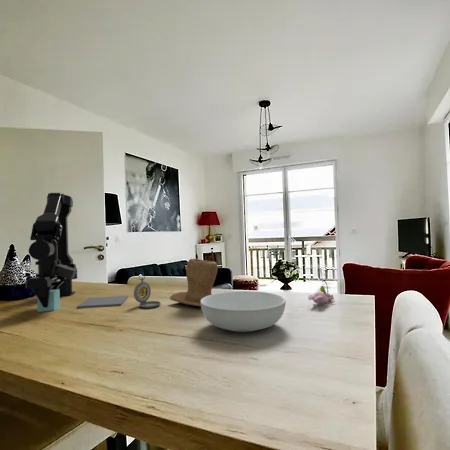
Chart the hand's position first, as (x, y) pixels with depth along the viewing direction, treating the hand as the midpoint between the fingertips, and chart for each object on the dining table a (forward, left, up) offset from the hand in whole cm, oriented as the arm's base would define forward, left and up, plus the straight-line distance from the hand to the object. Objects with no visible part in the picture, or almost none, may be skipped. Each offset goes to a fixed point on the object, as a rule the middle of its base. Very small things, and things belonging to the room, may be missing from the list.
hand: (48, 305), depth 106 cm
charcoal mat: (-6, +16, -1) cm, 17 cm away
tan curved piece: (+6, +48, -2) cm, 48 cm away
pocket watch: (+4, +32, -2) cm, 32 cm away
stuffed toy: (+17, +86, -2) cm, 88 cm away
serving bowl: (+34, +58, -2) cm, 67 cm away
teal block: (0, 0, -1) cm, 1 cm away
